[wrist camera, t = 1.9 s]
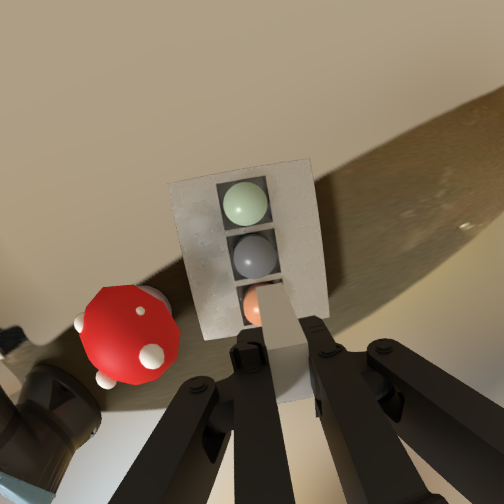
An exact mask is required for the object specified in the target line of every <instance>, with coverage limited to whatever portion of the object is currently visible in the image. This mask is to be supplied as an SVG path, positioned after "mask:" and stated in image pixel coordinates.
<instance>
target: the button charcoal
mask: <svg viewBox="0 0 504 504" xmlns="http://www.w3.org/2000/svg"><path fill="white" fill-rule="evenodd" d="M234 264H235V267H236V269H237V270H238V272H239V273H240V274H241V275H243V276H244V277H247V278H250V279H260V278H263V277H265V276H267V275H268V274H269V273H270V272H271V271H272V270H273V268H274V266H275V264H276V253H275V250H274V248H273V246H272V245H271V243H270V242H269V240H268V239H267V238H265V237H264V236H262V235H259V234H249V235H246V236H244V237H242V238H241V239H240V240H239V241H238V242H237V244H236V246H235V249H234Z"/></svg>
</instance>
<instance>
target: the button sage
mask: <svg viewBox="0 0 504 504" xmlns="http://www.w3.org/2000/svg"><path fill="white" fill-rule="evenodd" d="M223 207H224V211H225V214H226V215H227V217H228V218H229V219H230V220H231V221H232V222H234V223H235V224H238V225H242V226H249V225H253V224H255V223H257V222H258V221H260V220H261V219H262V217H263V216H264V215H265V213H266V210H267V198H266V195H265V193H264V192H263V190H262V189H261V188H260V187H259V186H257V185H255V184H253V183H249V182H241V183H238V184H235V185H234V186H232V187H231V188H230V189H229V190H228V191H227V193H226V195H225V197H224V201H223Z"/></svg>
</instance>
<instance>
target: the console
mask: <svg viewBox="0 0 504 504" xmlns="http://www.w3.org/2000/svg"><path fill="white" fill-rule="evenodd" d="M241 182H249V183H253V184H255V185H257V186H259V187H260V188H261V189H262V190H263V192H264V193H265V195H266V198H267V210H266V213H265V215H264V216H263V217H262V219H261V220H260V221H258V222H257V223H255V224H253V225H249V226H242V225H238V224H235V223H234V222H232V221H231V220H230V219H229V218H228V217H227V215H226V214H225V211H224V207H223V201H224V197H225V195H226V193H227V191H228V190H229V189H230V188H231V187H232V186H234V185H235V184H238V183H241ZM168 188H169V193H170V198H171V203H172V208H173V213H174V218H175V223H176V228H177V232H178V237H179V242H180V246H181V250H182V255H183V259H184V263H185V268H186V272H187V276H188V280H189V284H190V288H191V292H192V296H193V300H194V304H195V308H196V311H197V315H198V319H199V323H200V326H201V330H202V333H203V337H204V340H212V339H218V338H225V337H231V336H237V335H238V334H239V332H240V331H241V330H243V329H249V328H255V327H261V326H257V325H254V324H252V323H251V322H250V321H248V319H247V318H246V316H245V314H244V305H243V298H244V294H245V292H246V291H247V290H248V288H250V287H251V286H252V285H254V284H257V283H268V284H277V283H282V284H283V286H284V288H285V291H286V293H287V295H288V298H289V300H290V302H291V305H292V307H293V309H294V311H295V314H296V316H297V318H303V317H308V316H313V315H315V316H317V317H319V318H321V319H323V318H328V317H329V304H328V293H327V282H326V272H325V263H324V254H323V245H322V237H321V229H320V221H319V214H318V207H317V200H316V193H315V187H314V181H313V175H312V169H311V163H310V159H303V160H296V161H288V162H281V163H275V164H268V165H262V166H256V167H250V168H244V169H238V170H233V171H227V172H222V173H217V174H212V175H207V176H202V177H197V178H192V179H188V180H183V181H179V182H174V183H170V184H168ZM249 234H259V235H262V236H264V237H265V238H267V239H268V240H269V242H270V243H271V245H272V246H273V248H274V250H275V253H276V264H275V266H274V268H273V270H272V271H271V272H270V273H269V274H268V275H267V276H265V277H263V278H260V279H250V278H247V277H244V276H243V275H241V274H240V273H239V272H238V270H237V269H236V267H235V264H234V249H235V246H236V244H237V242H238V241H239V240H240V239H241V238H242V237H244V236H246V235H249Z"/></svg>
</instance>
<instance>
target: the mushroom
mask: <svg viewBox="0 0 504 504" xmlns="http://www.w3.org/2000/svg"><path fill="white" fill-rule="evenodd" d="M74 326H75V329H76V330H77V331H78V332H79V336H80V338H81V341H82V344H83V346H84V349H85V351H86V354H87V356H88V358H89V360H90V361H91V362H92V364H93V365H94V366H95V367H96V368H97V369H98V370H99V371H98V372H97V373H96V381H97V383H98V384H99V386H101V387H102V388H105V389H111V388H113V387H114V386H115V385H116V382H117V381H120V382H124V383H128V384H133V385H139V384H143V383H146V382H150V381H153V380H157V379H158V378H159V377H160V376H161V375H162V374H163V373H164V372H165V371H166V370H167V369H168V368H169V367H170V365H171V364H172V363H173V362H174V361H175V360H176V359H177V355H178V347H179V339H180V329H179V328H178V326H177V324H176V323H175V321H174V319H173V318H172V308H171V305H170V303H169V301H168V299H167V297H166V296H165V295H164V294H162V293H161V292H160V291H159V290H158V289H155V288H153V287H151V286H142V285H139V286H135V285H123V286H112V287H103V288H102V289H101V290H100V291H99V293H98V294H97V295H96V296H95V297H94V298H93V299H92V301H91V302H90V303H89V304H88V306H87V307H86V310H85V313H84V312H83V313H80V314H78V315H77V317H76V318H75V320H74Z"/></svg>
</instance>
